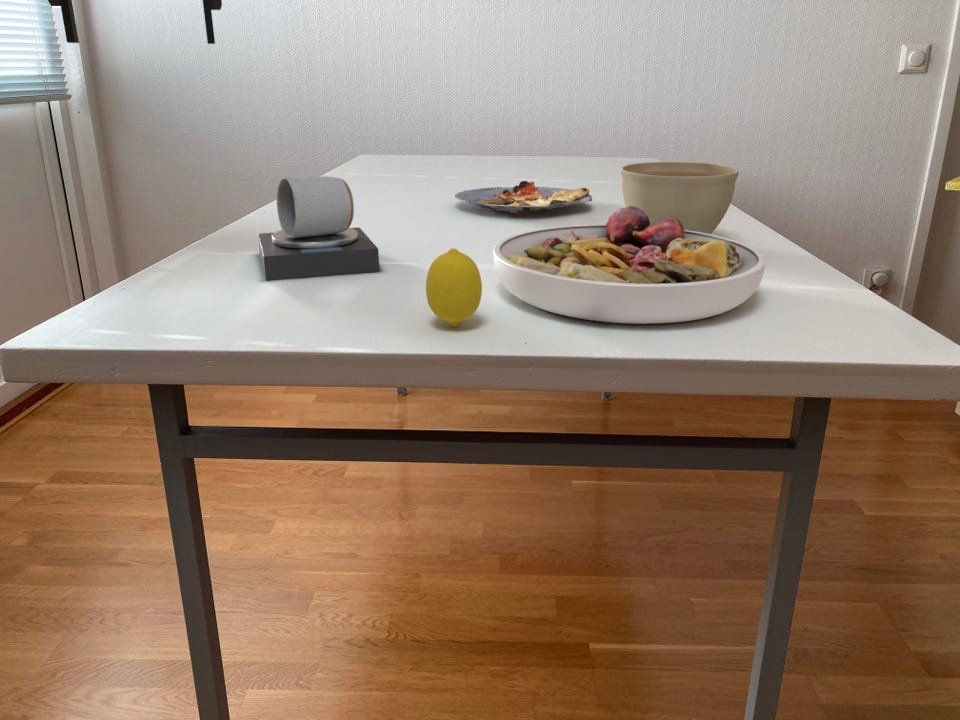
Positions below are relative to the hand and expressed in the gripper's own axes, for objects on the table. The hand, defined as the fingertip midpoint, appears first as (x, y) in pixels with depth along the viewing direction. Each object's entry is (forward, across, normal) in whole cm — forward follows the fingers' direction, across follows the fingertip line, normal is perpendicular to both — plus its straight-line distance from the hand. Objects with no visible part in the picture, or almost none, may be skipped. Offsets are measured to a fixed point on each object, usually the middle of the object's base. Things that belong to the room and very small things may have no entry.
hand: (144, 43), depth 82 cm
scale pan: (+23, -17, -7) cm, 30 cm away
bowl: (+27, -49, +18) cm, 59 cm away
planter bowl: (+27, -68, -3) cm, 73 cm away
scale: (+27, -17, -7) cm, 32 cm away
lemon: (+27, -27, +24) cm, 45 cm away
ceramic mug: (+23, -17, -7) cm, 29 cm away
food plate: (+27, -58, -38) cm, 74 cm away
